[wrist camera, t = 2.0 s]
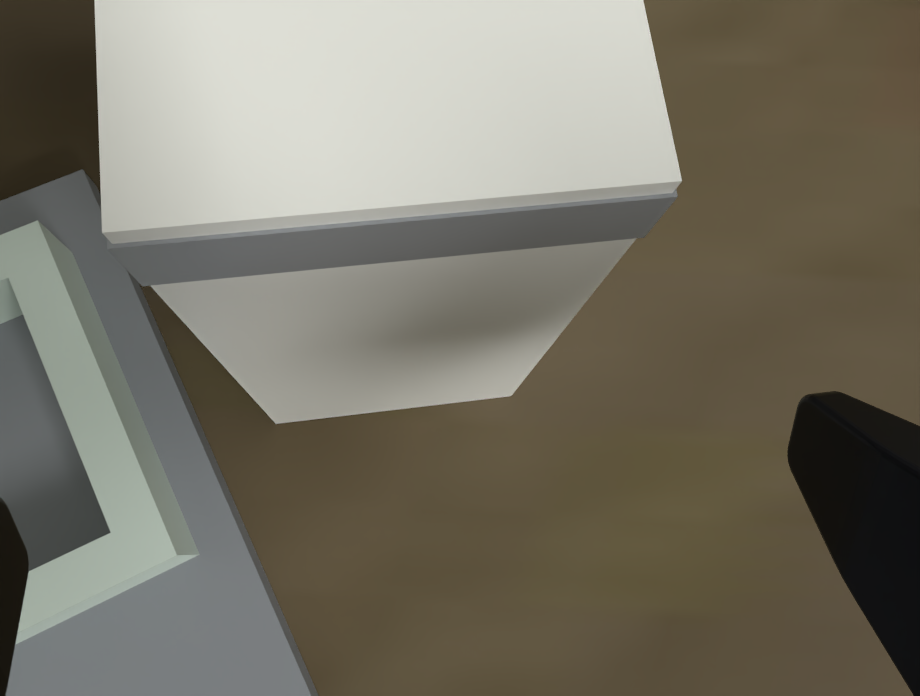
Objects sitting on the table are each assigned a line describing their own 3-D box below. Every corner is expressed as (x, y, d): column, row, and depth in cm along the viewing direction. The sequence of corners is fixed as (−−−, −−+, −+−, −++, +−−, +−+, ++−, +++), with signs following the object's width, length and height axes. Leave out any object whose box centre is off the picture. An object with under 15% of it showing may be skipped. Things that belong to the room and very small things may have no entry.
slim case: (490, 249, 22) (619, -132, 10) (513, 397, 21) (687, 185, 9) (261, 271, 21) (86, -108, 9) (273, 426, 20) (95, 238, 8)
